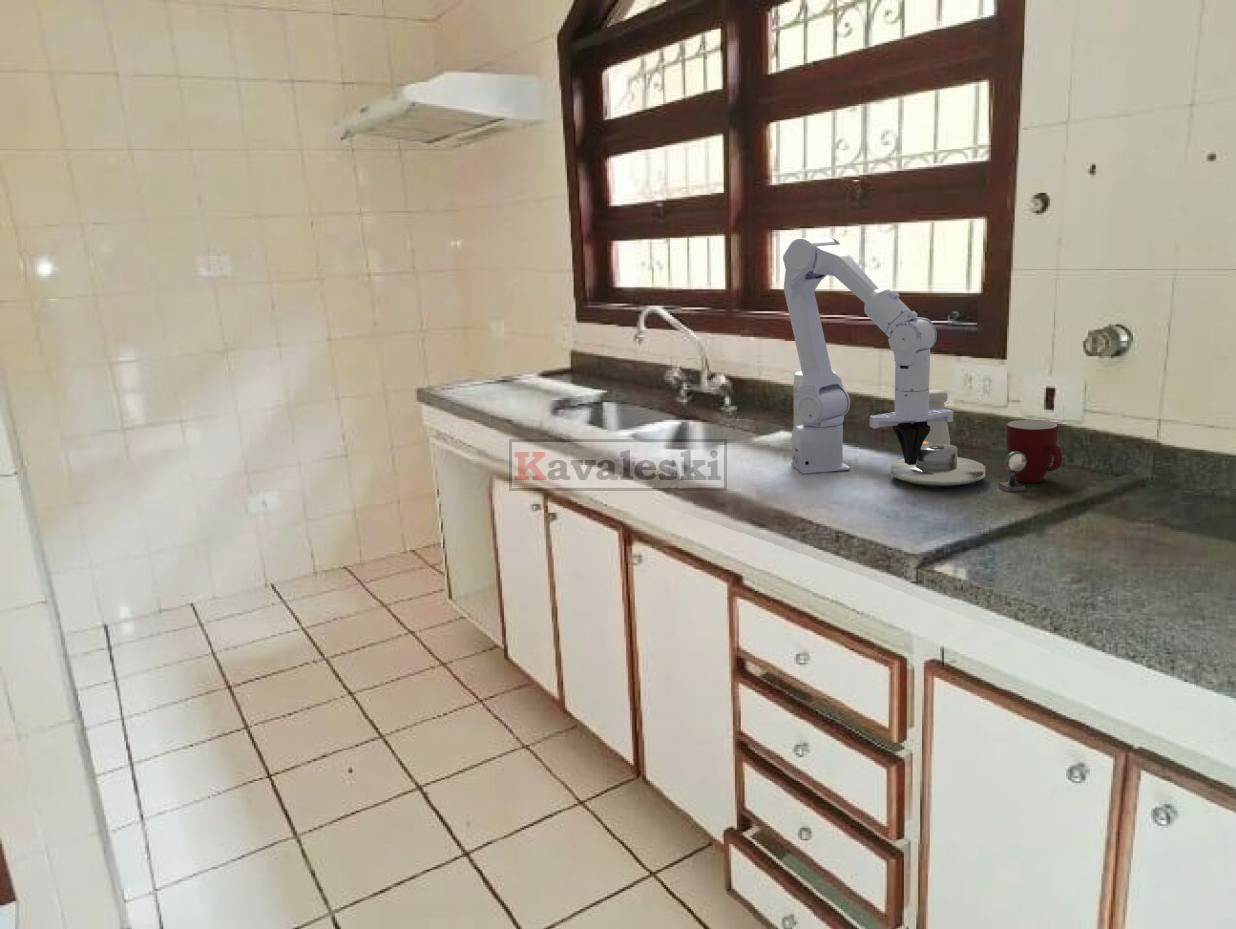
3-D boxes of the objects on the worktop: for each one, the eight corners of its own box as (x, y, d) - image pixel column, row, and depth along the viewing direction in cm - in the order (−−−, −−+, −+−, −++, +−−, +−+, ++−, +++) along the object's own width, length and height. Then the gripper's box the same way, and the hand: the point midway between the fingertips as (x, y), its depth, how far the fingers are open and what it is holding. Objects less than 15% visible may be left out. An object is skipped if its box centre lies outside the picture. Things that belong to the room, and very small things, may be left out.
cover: (925, 473, 148) (926, 453, 147) (909, 463, 154) (909, 444, 154) (964, 469, 148) (964, 449, 147) (946, 460, 155) (946, 441, 154)
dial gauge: (1005, 492, 142) (1007, 453, 141) (996, 487, 145) (998, 449, 143) (1026, 490, 142) (1028, 451, 141) (1016, 485, 145) (1018, 447, 144)
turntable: (913, 488, 143) (913, 465, 142) (876, 466, 159) (877, 444, 158) (1003, 480, 144) (1004, 456, 143) (958, 458, 160) (959, 437, 159)
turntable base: (922, 489, 147) (922, 484, 146) (898, 475, 156) (898, 470, 156) (977, 484, 147) (977, 479, 147) (950, 470, 157) (950, 465, 157)
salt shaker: (951, 456, 166) (954, 392, 163) (921, 457, 168) (923, 393, 164) (946, 449, 172) (948, 387, 169) (917, 450, 173) (918, 388, 170)
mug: (1077, 483, 144) (1081, 427, 142) (1045, 491, 141) (1048, 434, 138) (1025, 471, 153) (1028, 417, 151) (993, 478, 150) (996, 424, 148)
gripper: (880, 396, 143) (879, 472, 146) (962, 389, 144) (960, 465, 147) (865, 389, 150) (864, 462, 153) (943, 383, 151) (941, 456, 154)
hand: (910, 463), depth 151 cm, fingers closed
